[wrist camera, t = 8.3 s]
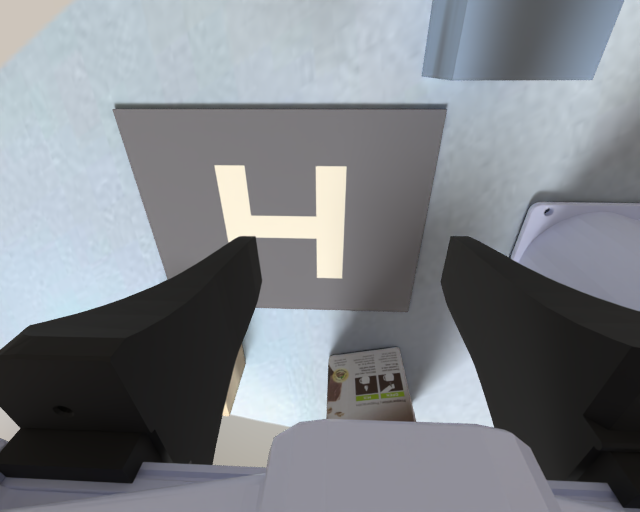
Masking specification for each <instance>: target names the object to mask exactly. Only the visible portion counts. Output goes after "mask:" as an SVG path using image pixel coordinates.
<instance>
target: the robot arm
mask: <svg viewBox="0 0 640 512" xmlns="http://www.w3.org/2000/svg"><path fill="white" fill-rule="evenodd" d="M548 208H550V210H549V211H548V212H547V213H544V212H545V210H547V209H548ZM261 284H262V275H261V269H260V262H259V256H258V249H257V243H256V236H239V237H237V238H235V239H234V240H232V241H230V242H229V243H227V244H226V245H224V246H223V247H221V248H220V249H218V250H217V251H215V252H214V253H212V254H211V255H209V256H208V257H206V258H205V259H203V260H202V261H200V262H198V263H197V264H195V265H193V266H192V267H190V268H188V269H187V270H185V271H183V272H181V273H180V274H178V275H176V276H174V277H172V278H170V279H168V280H166V281H164V282H162V283H160V284H158V285H156V286H154V287H151V288H149V289H146V290H144V291H141V292H139V293H136V294H134V295H132V296H129V297H127V298H124V299H121V300H119V301H116V302H113V303H110V304H107V305H104V306H101V307H98V308H94V309H91V310H88V311H84V312H81V313H78V314H74V315H70V316H66V317H62V318H58V319H54V320H50V321H46V322H42V323H38V324H34V325H30V326H28V327H27V328H25V329H24V330H23V331H22V332H21V333H20V334H19V335H17V336H16V337H15V338H14V339H13V340H11V341H10V342H9V343H8V344H7V345H5V346H4V347H3V348H2V349H1V350H0V407H1V408H2V409H3V410H4V411H5V412H6V413H7V414H8V415H9V417H10V418H12V420H13V421H14V422H15V423H16V424H17V425H18V426H19V427H20V428H21V429H20V430H19V431H18V432H17V433H16V434H15V436H14V437H13V438H12V439H11V440H10V441H9V442H8V441H6V440H4V439H1V438H0V512H640V203H583V202H537V203H535V204H533V205H532V206H531V207H530V208H529V210H528V213H527V215H526V218H525V220H524V223H523V226H522V228H521V231H520V234H519V236H518V239H517V242H516V244H515V247H514V250H513V252H512V255H511V258H508V257H507V256H505V255H503V254H501V253H499V252H497V251H496V250H494V249H492V248H490V247H489V246H487V245H485V244H483V243H481V242H479V241H477V240H475V239H473V238H471V237H468V236H451V237H450V242H449V246H448V251H447V256H446V260H445V265H444V269H443V274H442V278H441V285H442V289H443V293H444V296H445V300H446V303H447V306H448V308H449V310H450V312H451V315H452V317H453V319H454V321H455V323H456V325H457V328H458V330H459V332H460V334H461V336H462V338H463V340H464V343H465V345H466V347H467V349H468V351H469V353H470V355H471V358H472V360H473V363H474V365H475V368H476V371H477V374H478V377H479V380H480V383H481V386H482V389H483V392H484V395H485V398H486V401H487V405H488V408H489V411H490V414H491V418H492V421H493V425H494V428H493V427H488V426H483V425H478V424H460V423H432V422H404V421H376V420H348V419H322V420H314V421H306V422H299V423H297V424H296V425H294V426H292V427H290V428H289V429H287V430H285V431H283V432H282V433H280V434H279V435H277V436H275V437H274V439H273V442H272V445H271V449H270V452H269V457H268V462H267V467H266V468H265V467H243V466H242V467H241V466H220V465H212V464H213V459H214V453H215V448H216V443H217V438H218V434H219V429H220V424H221V419H222V415H223V410H224V406H225V402H226V398H227V393H228V389H229V385H230V381H231V377H232V373H233V370H234V366H235V362H236V359H237V356H238V353H239V349H240V347H241V344H242V342H243V339H244V336H245V334H246V331H247V329H248V326H249V323H250V321H251V318H252V316H253V313H254V310H255V308H256V305H257V302H258V298H259V294H260V289H261Z"/></svg>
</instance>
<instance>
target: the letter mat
mask: <svg viewBox="0 0 640 512" xmlns="http://www.w3.org/2000/svg"><path fill="white" fill-rule="evenodd" d="M113 112H114V116H115V119H116V122H117V125H118V128H119V131H120V134H121V137H122V140H123V143H124V146H125V149H126V152H127V156H128V159H129V162H130V165H131V168H132V171H133V174H134V177H135V180H136V183H137V186H138V189H139V192H140V196H141V199H142V202H143V205H144V208H145V211H146V214H147V217H148V220H149V223H150V226H151V229H152V232H153V236H154V239H155V242H156V245H157V248H158V251H159V254H160V257H161V260H162V263H163V266H164V269H165V272H166V276H167V279H170V278H172V277H174V276H176V275H178V274H180V273H181V272H183V271H185V270H187V269H188V268H190V267H192V266H193V265H195V264H197V263H198V262H200V261H202V260H203V259H205V258H206V257H208V256H209V255H211V254H212V253H214V252H215V251H217V250H218V249H220V248H221V247H223V246H224V245H226V244H227V243H229V242H230V241H232V240H234V239H235V238H237V237H239V236H256V243H257V249H258V256H259V262H260V269H261V275H262V284H261V289H260V294H259V298H258V302H257V305H256V308H282V309H317V310H352V311H387V312H408V309H409V304H410V299H411V294H412V289H413V283H414V278H415V273H416V268H417V263H418V257H419V252H420V247H421V242H422V237H423V231H424V226H425V221H426V216H427V211H428V205H429V200H430V195H431V190H432V185H433V179H434V174H435V169H436V164H437V159H438V153H439V148H440V143H441V138H442V133H443V127H444V122H445V117H446V112H447V109H113Z"/></svg>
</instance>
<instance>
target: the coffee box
mask: <svg viewBox="0 0 640 512" xmlns="http://www.w3.org/2000/svg"><path fill="white" fill-rule="evenodd" d="M326 419H348V420H376V421H404V422H416V419H415V414H414V411H413V406H412V402H411V398H410V393H409V389H408V384H407V380H406V375H405V371H404V367H403V362H402V357H401V353H400V349H399V348H398V347H393V348H386V349H379V350H370V351H363V352H355V353H348V354H341V355H333V356H330V357H329V364H328V393H327V418H326Z"/></svg>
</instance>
